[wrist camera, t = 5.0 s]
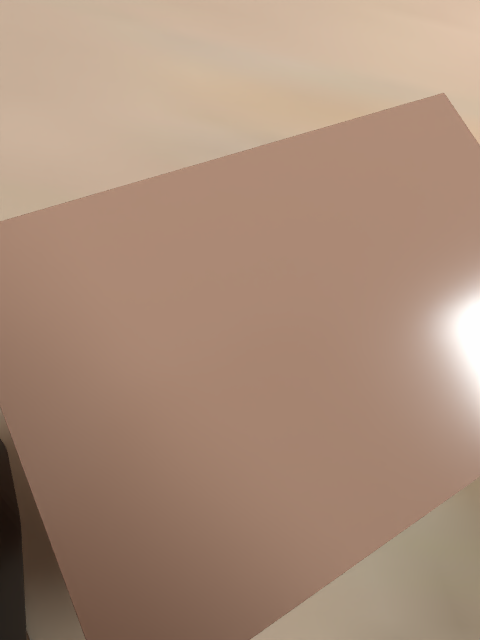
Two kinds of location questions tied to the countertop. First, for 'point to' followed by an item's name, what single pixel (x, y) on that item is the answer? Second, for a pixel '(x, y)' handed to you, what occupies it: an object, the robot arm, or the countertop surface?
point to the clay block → (247, 369)
